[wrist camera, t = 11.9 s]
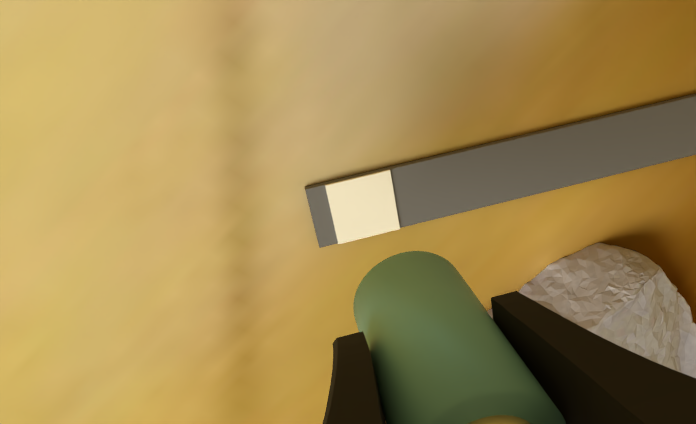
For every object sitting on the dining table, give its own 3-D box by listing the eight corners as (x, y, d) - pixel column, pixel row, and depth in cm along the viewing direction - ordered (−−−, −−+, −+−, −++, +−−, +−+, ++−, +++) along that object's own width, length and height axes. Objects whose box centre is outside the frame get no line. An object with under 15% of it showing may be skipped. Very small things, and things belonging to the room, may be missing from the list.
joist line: (819, 120, 21) (829, 122, 21) (318, 244, 20) (319, 249, 20) (831, 61, 20) (841, 62, 20) (304, 187, 19) (305, 190, 19)
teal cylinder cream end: (468, 333, 14) (581, 513, 9) (364, 360, 14) (421, 560, 9) (458, 239, 13) (582, 388, 8) (343, 267, 13) (396, 439, 8)
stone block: (585, 203, 24) (426, 345, 23) (681, 237, 19) (489, 413, 18) (657, 352, 29) (530, 472, 28) (745, 405, 24) (598, 548, 24)
